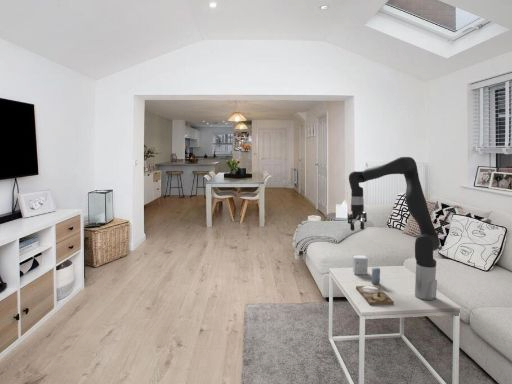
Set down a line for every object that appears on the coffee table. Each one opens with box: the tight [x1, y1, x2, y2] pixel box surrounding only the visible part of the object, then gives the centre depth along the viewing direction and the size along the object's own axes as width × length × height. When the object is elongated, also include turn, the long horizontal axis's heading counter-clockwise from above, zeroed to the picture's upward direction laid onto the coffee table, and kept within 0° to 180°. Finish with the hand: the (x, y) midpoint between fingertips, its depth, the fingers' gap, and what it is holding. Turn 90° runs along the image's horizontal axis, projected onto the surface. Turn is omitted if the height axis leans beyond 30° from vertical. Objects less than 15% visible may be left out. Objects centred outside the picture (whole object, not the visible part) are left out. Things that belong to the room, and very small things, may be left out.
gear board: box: [355, 285, 394, 306], centre depth 173 cm, size 20×12×5 cm, turn 2°
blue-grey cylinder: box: [371, 266, 381, 286], centre depth 190 cm, size 4×4×9 cm
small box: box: [352, 255, 369, 275], centre depth 207 cm, size 8×6×10 cm
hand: (357, 229), depth 204 cm, fingers open, 8 cm apart
